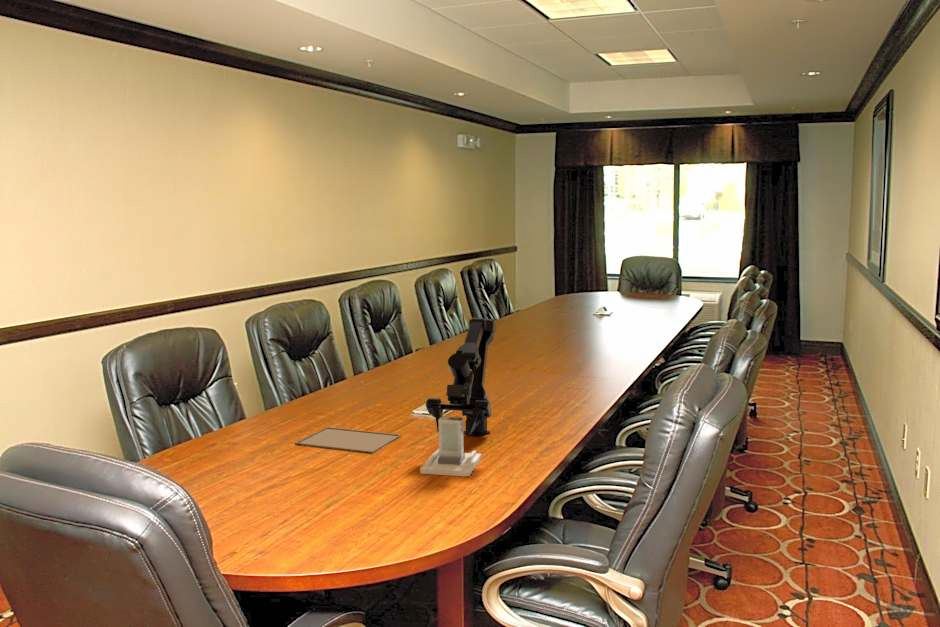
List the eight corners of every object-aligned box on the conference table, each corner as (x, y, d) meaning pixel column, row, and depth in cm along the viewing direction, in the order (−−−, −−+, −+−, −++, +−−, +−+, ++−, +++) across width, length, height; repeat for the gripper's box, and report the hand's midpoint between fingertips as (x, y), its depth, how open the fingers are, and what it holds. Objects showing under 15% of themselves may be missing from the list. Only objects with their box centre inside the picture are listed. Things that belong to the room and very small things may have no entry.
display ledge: (435, 456, 249) (435, 447, 249) (481, 458, 246) (481, 449, 246) (420, 473, 234) (420, 464, 233) (469, 476, 230) (468, 467, 230)
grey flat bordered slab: (401, 437, 270) (327, 430, 280) (401, 434, 270) (327, 427, 280) (373, 455, 252) (294, 446, 263) (373, 451, 252) (294, 442, 263)
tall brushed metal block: (443, 457, 243) (442, 415, 241) (464, 458, 242) (464, 416, 240) (437, 463, 237) (437, 420, 236) (460, 464, 236) (459, 421, 234)
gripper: (426, 371, 246) (416, 418, 238) (488, 373, 242) (480, 421, 233) (434, 391, 255) (425, 436, 246) (494, 393, 251) (487, 439, 242)
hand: (453, 433), depth 242 cm, fingers open, 9 cm apart
